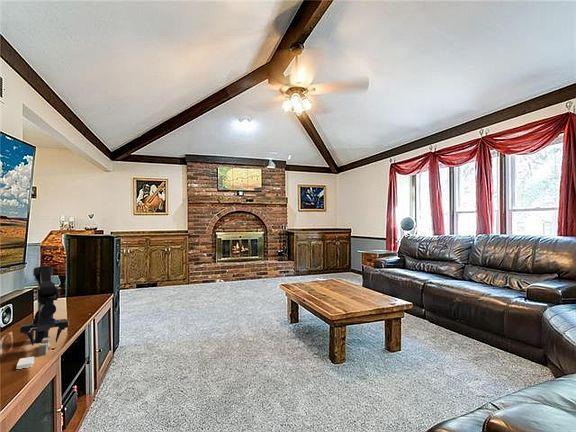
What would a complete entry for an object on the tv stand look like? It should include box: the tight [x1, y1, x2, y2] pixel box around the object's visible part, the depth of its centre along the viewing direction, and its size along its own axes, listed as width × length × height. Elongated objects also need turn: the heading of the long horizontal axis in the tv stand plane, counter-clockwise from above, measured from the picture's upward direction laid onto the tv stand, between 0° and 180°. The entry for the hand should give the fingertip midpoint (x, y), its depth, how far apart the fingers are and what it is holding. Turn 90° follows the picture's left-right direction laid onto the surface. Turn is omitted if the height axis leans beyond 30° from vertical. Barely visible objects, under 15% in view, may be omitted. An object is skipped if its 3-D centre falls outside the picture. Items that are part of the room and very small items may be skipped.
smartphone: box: [55, 318, 67, 328], centre depth 196 cm, size 7×1×15 cm
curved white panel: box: [37, 336, 51, 357], centre depth 155 cm, size 14×3×4 cm, turn 31°
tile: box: [16, 356, 35, 370], centre depth 139 cm, size 2×5×8 cm
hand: (44, 343), depth 157 cm, fingers open, 9 cm apart
